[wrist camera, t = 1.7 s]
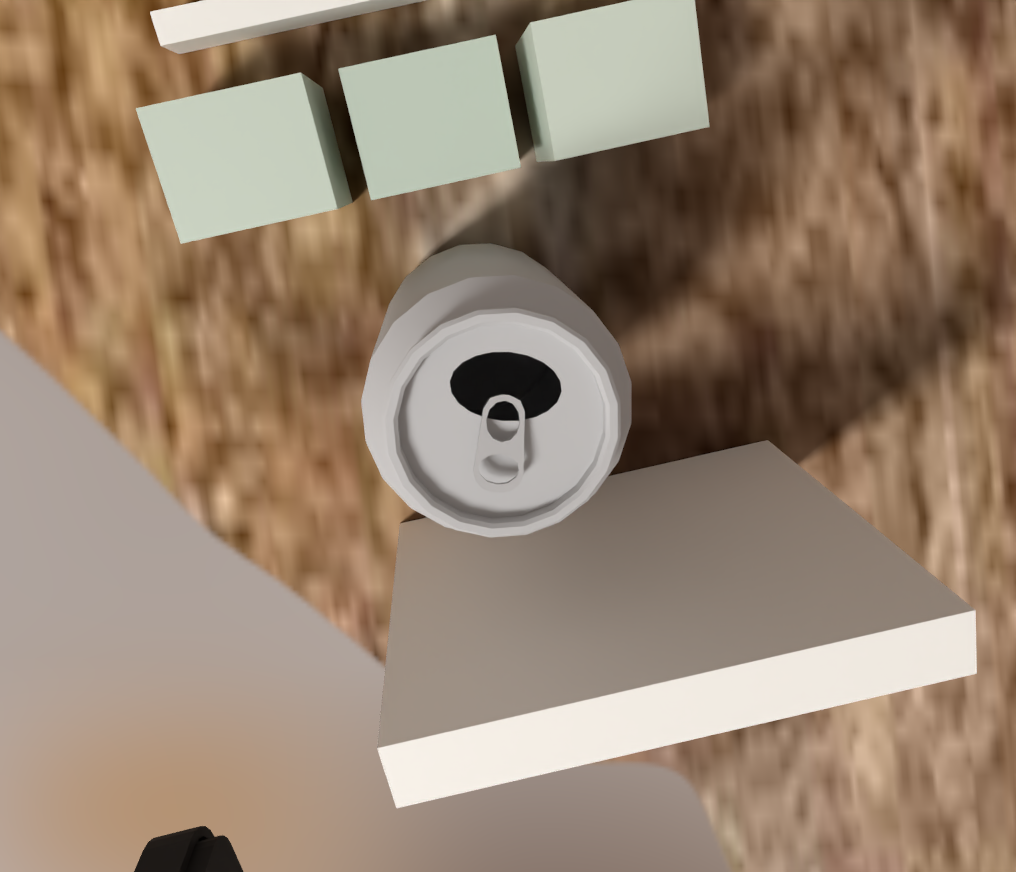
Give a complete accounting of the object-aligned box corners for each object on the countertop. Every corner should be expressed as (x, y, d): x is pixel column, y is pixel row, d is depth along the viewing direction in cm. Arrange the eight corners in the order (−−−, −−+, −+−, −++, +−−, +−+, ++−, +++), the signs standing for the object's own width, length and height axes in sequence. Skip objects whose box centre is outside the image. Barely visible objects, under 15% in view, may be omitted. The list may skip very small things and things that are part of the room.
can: (585, 251, 31) (671, 299, 20) (560, 435, 34) (624, 571, 22) (390, 230, 30) (364, 267, 19) (378, 420, 33) (347, 554, 21)
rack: (169, 22, 28) (-76, -111, 14) (709, -95, 28) (956, -331, 15) (342, 580, 35) (286, 833, 22) (772, 482, 35) (976, 673, 22)
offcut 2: (515, 45, 29) (530, 22, 24) (651, 16, 29) (693, -14, 24) (536, 161, 30) (555, 161, 26) (666, 132, 30) (709, 126, 26)
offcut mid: (350, 82, 29) (338, 68, 25) (487, 52, 29) (495, 34, 25) (379, 196, 30) (371, 200, 26) (510, 167, 30) (520, 167, 26)
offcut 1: (185, 118, 29) (135, 108, 24) (322, 87, 29) (300, 72, 24) (221, 231, 30) (181, 243, 25) (353, 202, 30) (337, 208, 25)
